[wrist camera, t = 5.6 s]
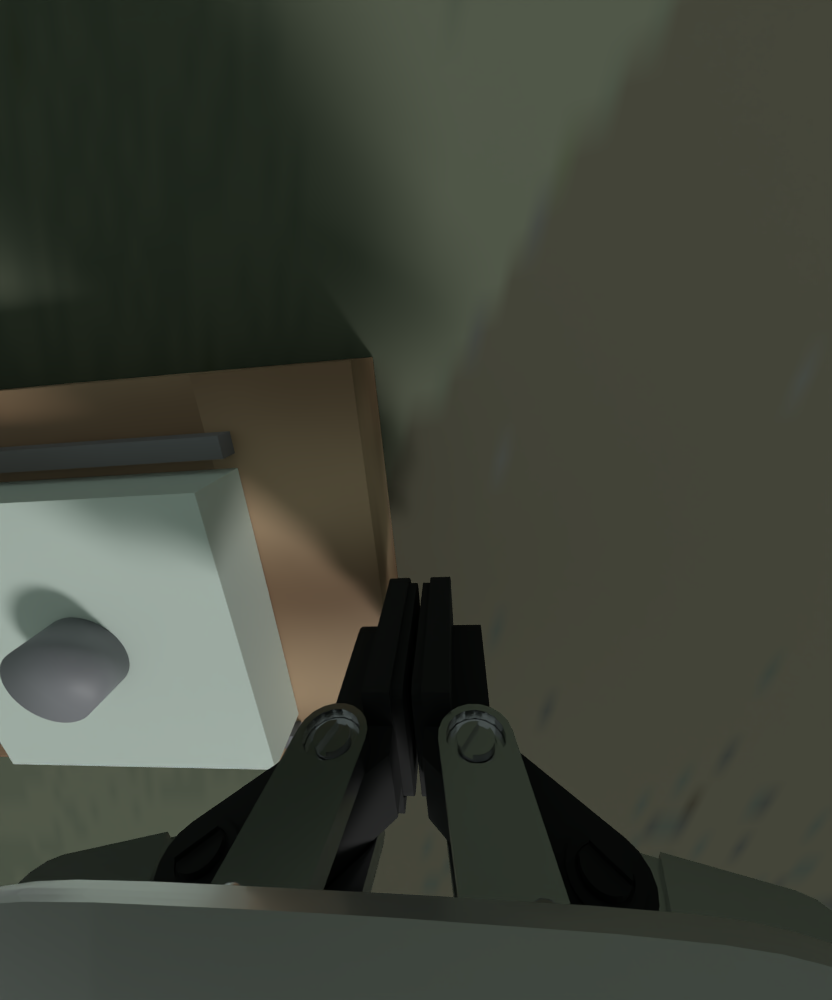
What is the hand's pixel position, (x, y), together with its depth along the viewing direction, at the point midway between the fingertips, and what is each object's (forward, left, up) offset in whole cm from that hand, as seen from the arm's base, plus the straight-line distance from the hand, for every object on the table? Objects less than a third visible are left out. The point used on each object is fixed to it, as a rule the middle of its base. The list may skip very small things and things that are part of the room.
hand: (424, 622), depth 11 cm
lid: (0, +9, -1) cm, 9 cm away
